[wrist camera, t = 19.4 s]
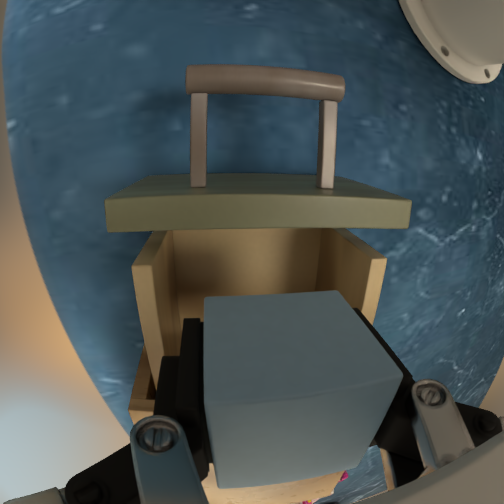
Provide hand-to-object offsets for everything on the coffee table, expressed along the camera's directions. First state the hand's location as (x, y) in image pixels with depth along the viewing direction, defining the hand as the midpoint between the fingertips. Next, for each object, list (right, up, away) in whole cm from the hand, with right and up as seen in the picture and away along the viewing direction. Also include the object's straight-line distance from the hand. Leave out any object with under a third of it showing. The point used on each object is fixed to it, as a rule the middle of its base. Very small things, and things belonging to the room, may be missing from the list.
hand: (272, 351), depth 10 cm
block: (0, 0, 0) cm, 0 cm away
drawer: (-1, +4, +8) cm, 9 cm away
